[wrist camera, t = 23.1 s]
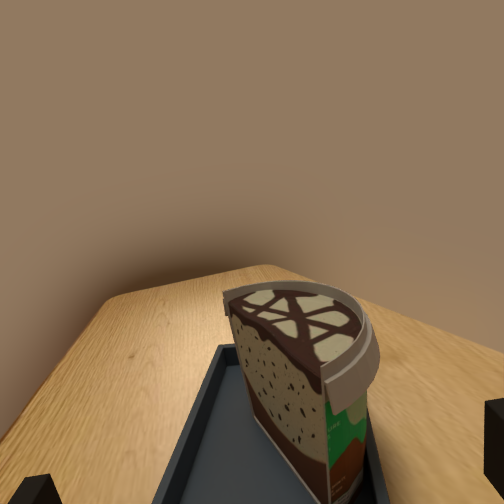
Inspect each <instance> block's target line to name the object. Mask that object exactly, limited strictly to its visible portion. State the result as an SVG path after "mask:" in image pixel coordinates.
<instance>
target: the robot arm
mask: <svg viewBox="0 0 504 504" xmlns="http://www.w3.org/2000/svg"><path fill="white" fill-rule="evenodd" d="M484 475H485V476H486V477H487V479H488V480H489V481H490V483H491V484H492V485H493V486H494V488H495V489H496V490H497V492H498V493H499V494H500V496H501V497H502V498H503V500H504V398H500V399H494V400H488V401H485V414H484ZM8 504H62V501H61V499H60V497H59V494H58V492H57V490H56V487H55V485H54V482H53V480H52V478H51V475H50V474H44V475H38V476H32V477H26V478H24V480H23V481H22V483H21V484H20V486H19V487H18V489H17V490H16V492H15V493H14V495H13V496H12V498H11V499H10V501H9V502H8Z"/></svg>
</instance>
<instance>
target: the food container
mask: <svg viewBox="0 0 504 504" xmlns="http://www.w3.org/2000/svg"><path fill="white" fill-rule="evenodd" d="M222 292H223V297H224V299H223V303H224V310H225V316H228V318H229V322H230V326H231V330H232V334H233V338H234V342H235V346H236V351H237V355H238V359H239V363H240V367H241V371H242V375H243V379H244V383H245V387H246V392H247V396H248V400H249V404H250V408H251V412H252V416H253V419H254V420H255V421H256V423H257V424H258V425H259V427H260V428H261V429H262V431H263V432H264V434H265V435H266V436H267V438H268V439H269V440H270V442H271V443H272V444H273V446H274V447H275V448H276V450H277V451H278V453H279V454H280V455H281V457H282V458H283V459H284V461H285V462H286V463H287V465H288V466H289V468H290V469H291V470H292V472H293V473H294V474H295V476H296V477H297V478H298V480H299V481H300V482H301V484H302V485H303V487H304V488H305V489H306V491H307V492H308V493H309V495H310V496H311V497H312V499H313V500H314V502H315V503H316V504H354V503H355V501H356V499H357V498H358V496H359V494H360V493H361V491H362V489H363V483H364V477H365V471H366V417H367V388H368V387H369V385H370V384H371V383H372V381H373V380H374V378H375V375H376V373H377V370H378V368H379V361H380V352H379V345H378V342H377V339H376V336H375V333H374V330H373V327H372V324H371V322H370V320H369V318H368V315H367V314H366V313H365V312H364V310H363V308H362V306H361V304H360V303H359V302H358V301H357V300H356V299H355V298H354V297H353V296H352V295H350V294H349V293H347V292H345V291H343V290H341V289H339V288H336V287H333V286H330V285H327V284H322V283H318V282H310V281H298V280H281V281H268V282H260V283H254V284H249V285H244V286H240V287H236V288H232V289H229V290H226V291H222Z"/></svg>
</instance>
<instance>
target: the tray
mask: <svg viewBox="0 0 504 504" xmlns="http://www.w3.org/2000/svg"><path fill="white" fill-rule="evenodd" d="M152 504H316V503H315V502H314V500H313V499H312V497H311V496H310V495H309V493H308V492H307V491H306V489H305V488H304V487H303V485H302V484H301V482H300V481H299V480H298V478H297V477H296V476H295V474H294V473H293V472H292V470H291V469H290V468H289V466H288V465H287V463H286V462H285V461H284V459H283V458H282V457H281V455H280V454H279V453H278V451H277V450H276V448H275V447H274V446H273V444H272V443H271V442H270V440H269V439H268V438H267V436H266V435H265V434H264V432H263V431H262V429H261V428H260V427H259V425H258V424H257V423H256V421H255V420H254V419H253V416H252V412H251V408H250V404H249V400H248V396H247V392H246V387H245V383H244V379H243V375H242V371H241V367H240V363H239V359H238V355H237V351H236V346H235V344H225V345H218V347H217V350H216V352H215V354H214V357H213V359H212V361H211V364H210V366H209V369H208V371H207V373H206V376H205V378H204V380H203V383H202V385H201V388H200V390H199V392H198V395H197V397H196V399H195V402H194V404H193V406H192V409H191V411H190V414H189V416H188V418H187V421H186V423H185V425H184V428H183V430H182V433H181V435H180V437H179V440H178V442H177V444H176V447H175V449H174V451H173V454H172V456H171V459H170V461H169V463H168V466H167V468H166V470H165V473H164V475H163V478H162V480H161V482H160V485H159V487H158V489H157V492H156V494H155V496H154V499H153V501H152ZM354 504H390V501H389V497H388V493H387V488H386V484H385V480H384V476H383V472H382V468H381V463H380V459H379V455H378V451H377V447H376V442H375V438H374V434H373V430H372V426H371V421H370V417H369V413H368V409H367V417H366V471H365V477H364V483H363V489H362V491H361V493H360V494H359V496H358V498H357V499H356V501H355V503H354Z"/></svg>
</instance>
